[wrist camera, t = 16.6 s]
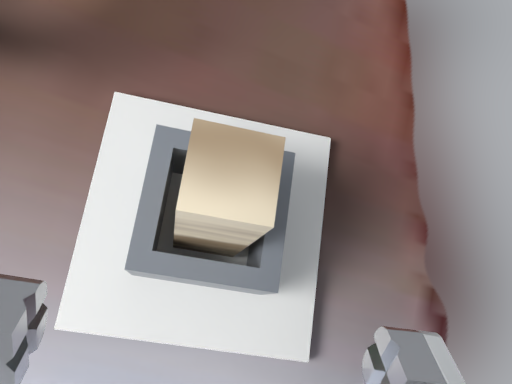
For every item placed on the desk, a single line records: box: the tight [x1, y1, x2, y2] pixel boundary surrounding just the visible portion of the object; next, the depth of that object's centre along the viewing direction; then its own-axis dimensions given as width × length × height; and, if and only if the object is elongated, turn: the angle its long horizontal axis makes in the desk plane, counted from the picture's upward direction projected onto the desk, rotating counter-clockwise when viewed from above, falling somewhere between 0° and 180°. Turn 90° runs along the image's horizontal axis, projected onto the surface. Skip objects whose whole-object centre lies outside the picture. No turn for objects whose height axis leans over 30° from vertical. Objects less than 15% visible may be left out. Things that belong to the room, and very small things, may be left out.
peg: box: [173, 118, 286, 257], centre depth 24 cm, size 4×4×12 cm
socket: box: [54, 92, 331, 363], centre depth 27 cm, size 16×16×6 cm
